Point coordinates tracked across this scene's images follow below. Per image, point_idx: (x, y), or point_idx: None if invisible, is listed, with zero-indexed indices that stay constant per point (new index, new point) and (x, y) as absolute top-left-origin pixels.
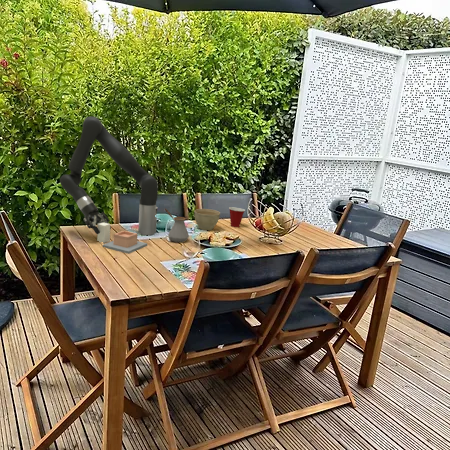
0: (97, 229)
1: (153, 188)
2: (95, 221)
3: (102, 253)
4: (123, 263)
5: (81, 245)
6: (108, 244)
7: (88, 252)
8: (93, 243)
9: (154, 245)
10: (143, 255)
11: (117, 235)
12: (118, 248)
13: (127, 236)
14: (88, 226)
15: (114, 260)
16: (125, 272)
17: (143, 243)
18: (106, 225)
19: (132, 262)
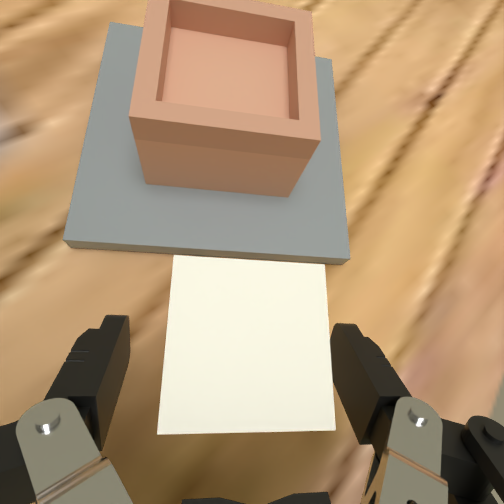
0: (371, 354)
1: None
2: (410, 469)
3: (428, 192)
4: (443, 44)
5: None
6: (314, 226)
7: (481, 273)
8: None
9: (81, 5)
10: (292, 7)
11: (315, 103)
12: (333, 128)
13: (289, 20)
14: (486, 496)
15: (449, 91)
16: (500, 7)
17: (128, 40)
18: (274, 263)
19: (405, 18)
